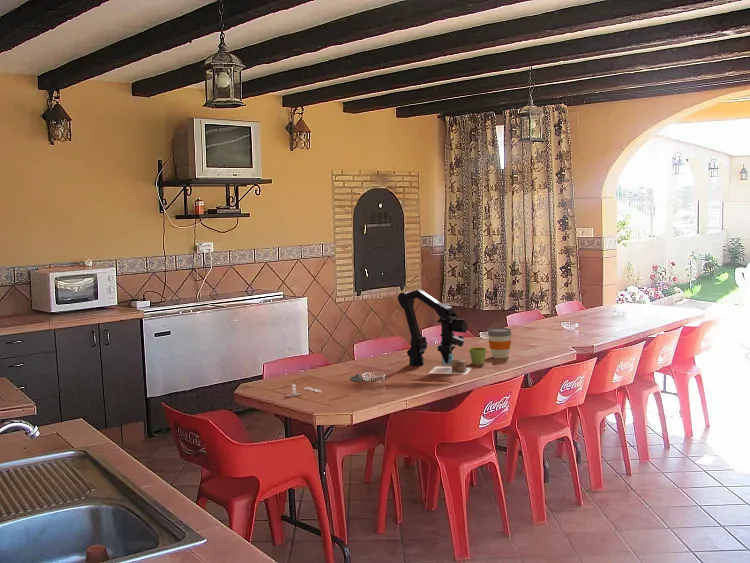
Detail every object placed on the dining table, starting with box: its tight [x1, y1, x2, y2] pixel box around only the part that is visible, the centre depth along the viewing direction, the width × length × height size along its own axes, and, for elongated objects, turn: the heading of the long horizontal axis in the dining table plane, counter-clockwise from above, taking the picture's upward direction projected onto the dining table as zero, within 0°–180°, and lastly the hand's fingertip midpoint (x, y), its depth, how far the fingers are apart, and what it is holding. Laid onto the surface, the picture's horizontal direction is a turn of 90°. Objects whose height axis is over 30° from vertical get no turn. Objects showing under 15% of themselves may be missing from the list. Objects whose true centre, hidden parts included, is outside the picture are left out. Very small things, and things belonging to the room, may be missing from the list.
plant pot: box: [467, 346, 488, 366], centre depth 393 cm, size 9×9×9 cm
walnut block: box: [451, 359, 467, 372], centre depth 377 cm, size 6×6×5 cm
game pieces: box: [284, 373, 363, 399], centre depth 357 cm, size 45×13×6 cm, turn 132°
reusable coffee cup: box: [487, 327, 512, 359], centre depth 412 cm, size 13×13×15 cm
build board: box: [428, 365, 473, 376], centre depth 379 cm, size 19×16×1 cm
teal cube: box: [441, 352, 455, 366], centre depth 384 cm, size 5×5×5 cm
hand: (447, 362), depth 384 cm, fingers closed on teal cube, 5 cm apart
